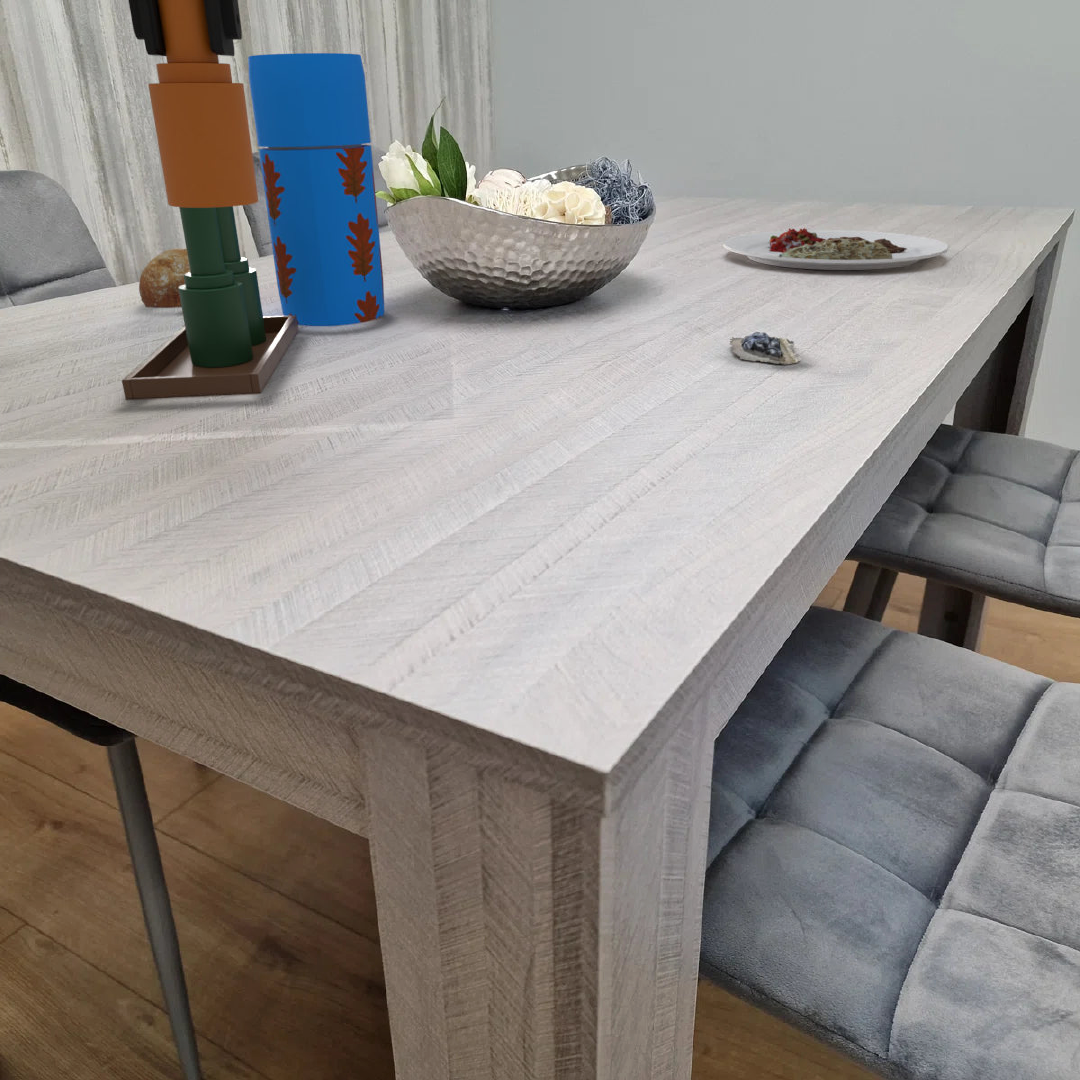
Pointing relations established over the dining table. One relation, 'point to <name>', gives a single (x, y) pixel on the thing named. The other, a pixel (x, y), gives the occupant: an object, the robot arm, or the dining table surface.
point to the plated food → (835, 249)
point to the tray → (179, 377)
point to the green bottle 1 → (211, 297)
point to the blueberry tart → (765, 349)
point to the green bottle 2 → (241, 273)
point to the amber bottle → (200, 116)
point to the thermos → (319, 185)
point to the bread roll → (164, 279)
